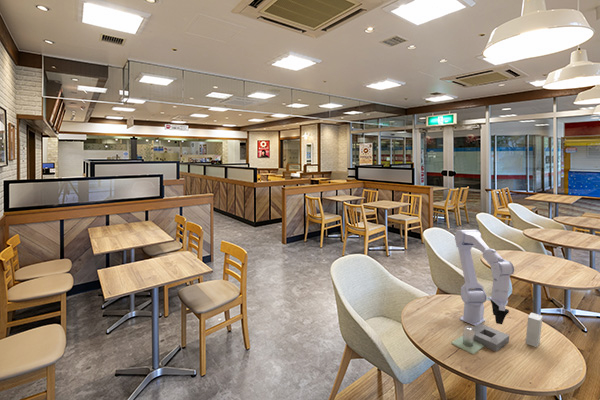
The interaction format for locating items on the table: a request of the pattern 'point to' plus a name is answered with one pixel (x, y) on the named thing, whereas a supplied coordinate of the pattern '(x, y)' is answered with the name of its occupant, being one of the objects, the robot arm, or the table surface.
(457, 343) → the mat
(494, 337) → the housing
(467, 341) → the plug
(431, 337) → the table surface
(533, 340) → the skincare box
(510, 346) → the table surface
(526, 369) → the table surface
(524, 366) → the table surface
